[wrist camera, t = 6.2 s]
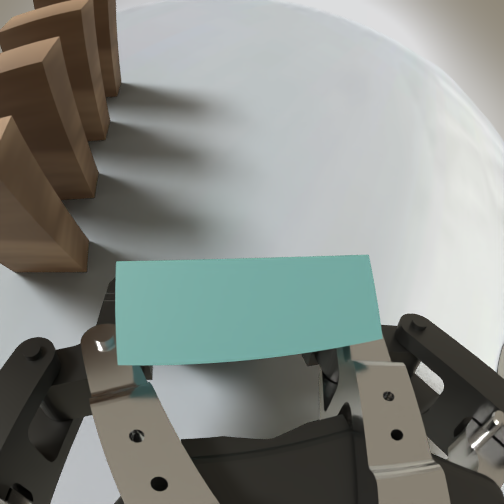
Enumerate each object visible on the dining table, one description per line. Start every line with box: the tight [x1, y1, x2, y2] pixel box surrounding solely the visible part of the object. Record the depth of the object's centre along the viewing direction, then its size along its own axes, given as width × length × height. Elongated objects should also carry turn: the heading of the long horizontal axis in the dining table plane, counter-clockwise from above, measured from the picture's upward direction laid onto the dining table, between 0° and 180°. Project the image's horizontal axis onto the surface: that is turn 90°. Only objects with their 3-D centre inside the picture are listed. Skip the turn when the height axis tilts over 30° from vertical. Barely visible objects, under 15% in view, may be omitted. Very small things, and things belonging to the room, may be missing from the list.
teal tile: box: [115, 255, 383, 365], centre depth 10 cm, size 2×5×10 cm, turn 96°
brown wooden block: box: [33, 0, 121, 97], centre depth 14 cm, size 2×5×10 cm, turn 95°
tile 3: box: [0, 37, 99, 200], centre depth 11 cm, size 2×5×10 cm, turn 95°
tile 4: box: [0, 0, 110, 141], centre depth 12 cm, size 2×5×10 cm, turn 95°
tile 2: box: [0, 115, 89, 272], centre depth 9 cm, size 2×5×10 cm, turn 96°
